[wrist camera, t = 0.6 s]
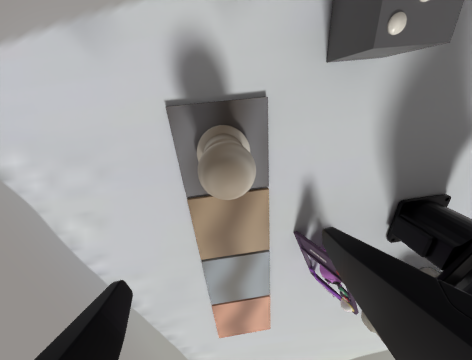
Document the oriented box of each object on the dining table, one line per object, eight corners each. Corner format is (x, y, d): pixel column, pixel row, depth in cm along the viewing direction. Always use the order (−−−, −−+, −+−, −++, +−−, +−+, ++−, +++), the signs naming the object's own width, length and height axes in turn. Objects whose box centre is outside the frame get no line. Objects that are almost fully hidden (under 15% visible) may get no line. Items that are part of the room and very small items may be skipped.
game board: (266, 96, 16) (267, 96, 16) (269, 326, 31) (270, 328, 31) (166, 106, 16) (165, 106, 15) (219, 335, 31) (219, 338, 30)
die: (399, -22, 14) (494, -83, 9) (382, 57, 16) (452, 41, 11) (335, -19, 13) (400, -80, 9) (326, 62, 15) (375, 48, 11)
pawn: (247, 122, 16) (268, 138, 10) (250, 171, 18) (269, 211, 12) (193, 127, 16) (179, 148, 10) (202, 177, 18) (195, 221, 12)
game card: (336, 273, 17) (352, 320, 21) (373, 238, 18) (381, 289, 22) (288, 235, 23) (307, 277, 27) (318, 211, 24) (332, 254, 28)
